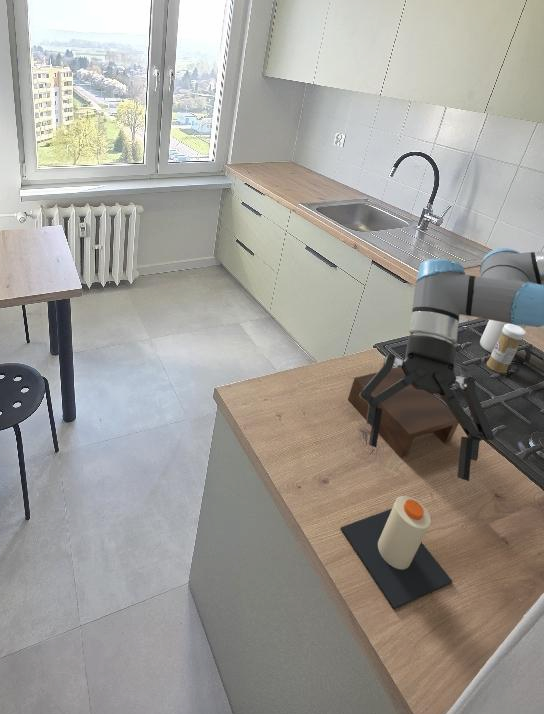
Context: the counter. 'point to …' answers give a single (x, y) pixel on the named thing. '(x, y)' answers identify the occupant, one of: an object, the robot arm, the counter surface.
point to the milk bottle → (493, 334)
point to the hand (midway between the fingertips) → (416, 462)
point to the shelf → (405, 412)
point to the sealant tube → (403, 532)
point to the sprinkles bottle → (506, 348)
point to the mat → (390, 580)
